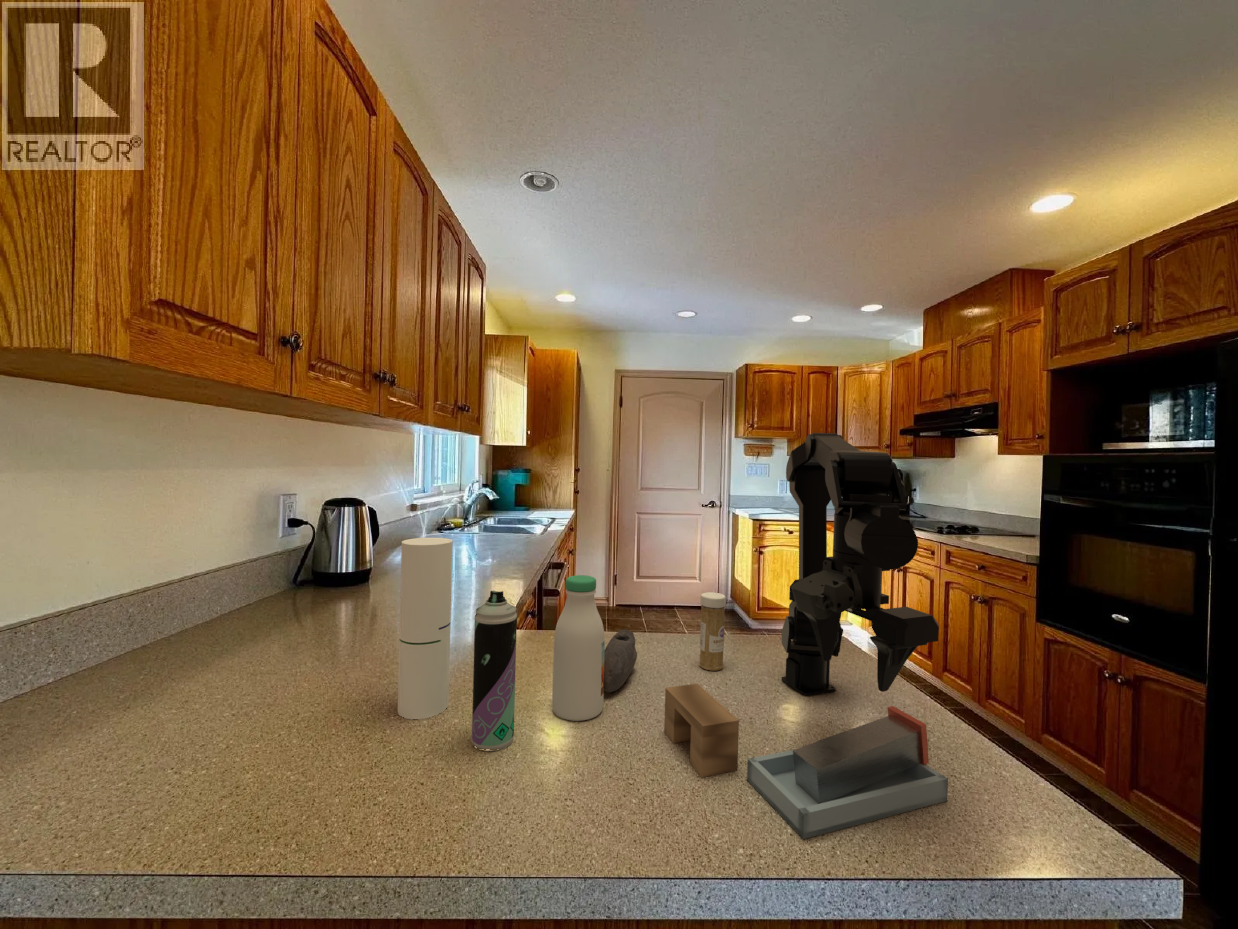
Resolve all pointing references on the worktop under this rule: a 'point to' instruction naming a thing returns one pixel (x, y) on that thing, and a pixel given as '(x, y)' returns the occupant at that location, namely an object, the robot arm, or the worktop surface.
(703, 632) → the spice jar
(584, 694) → the milk bottle
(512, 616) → the spray can
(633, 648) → the perforated stone tool
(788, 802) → the tray
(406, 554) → the cylindrical container
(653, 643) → the worktop surface
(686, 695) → the block
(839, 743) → the red capped grey bar
